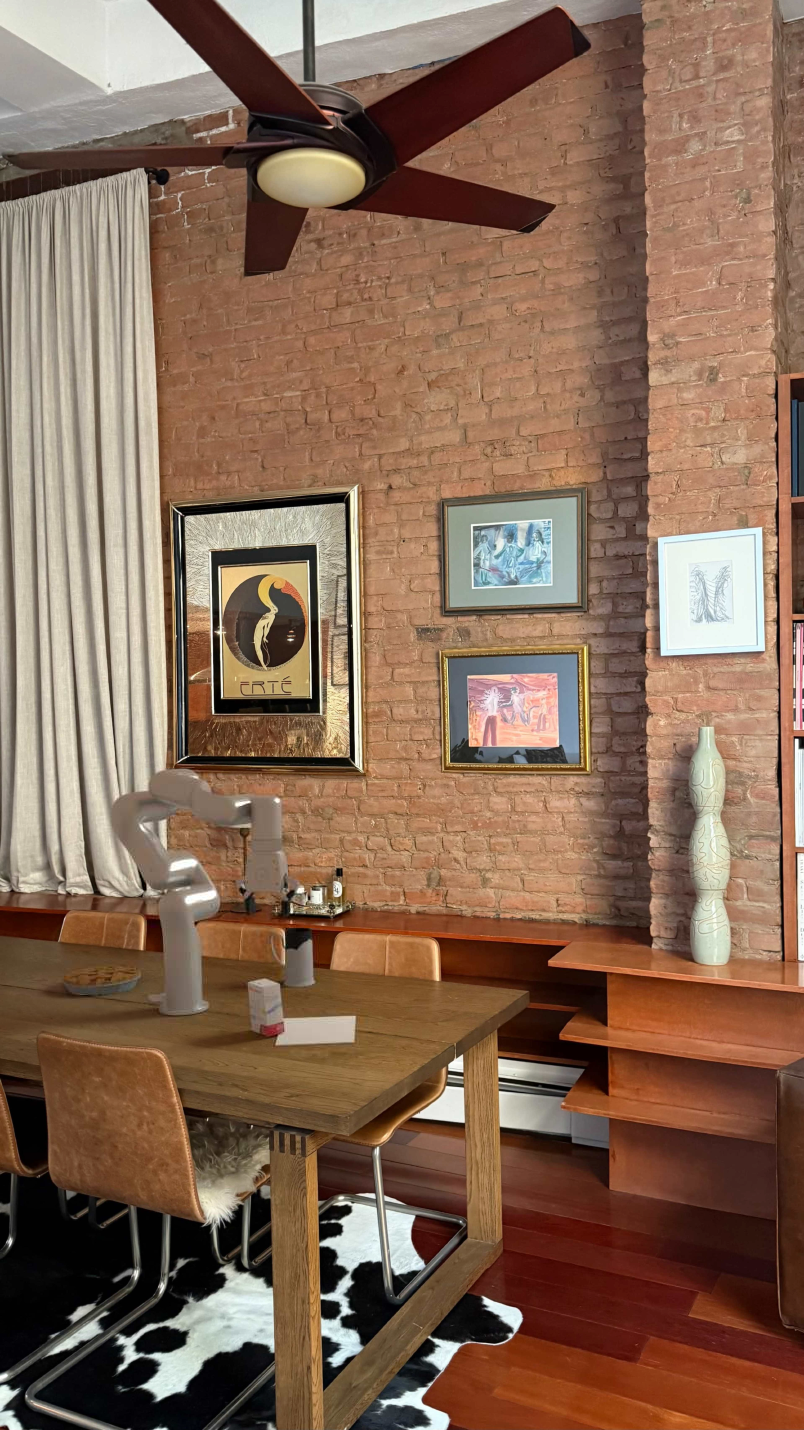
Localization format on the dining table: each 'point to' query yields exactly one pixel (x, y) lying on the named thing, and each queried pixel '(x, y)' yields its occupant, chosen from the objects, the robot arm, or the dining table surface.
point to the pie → (102, 980)
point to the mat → (317, 1031)
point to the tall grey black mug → (297, 957)
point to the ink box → (266, 1007)
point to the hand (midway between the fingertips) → (268, 915)
